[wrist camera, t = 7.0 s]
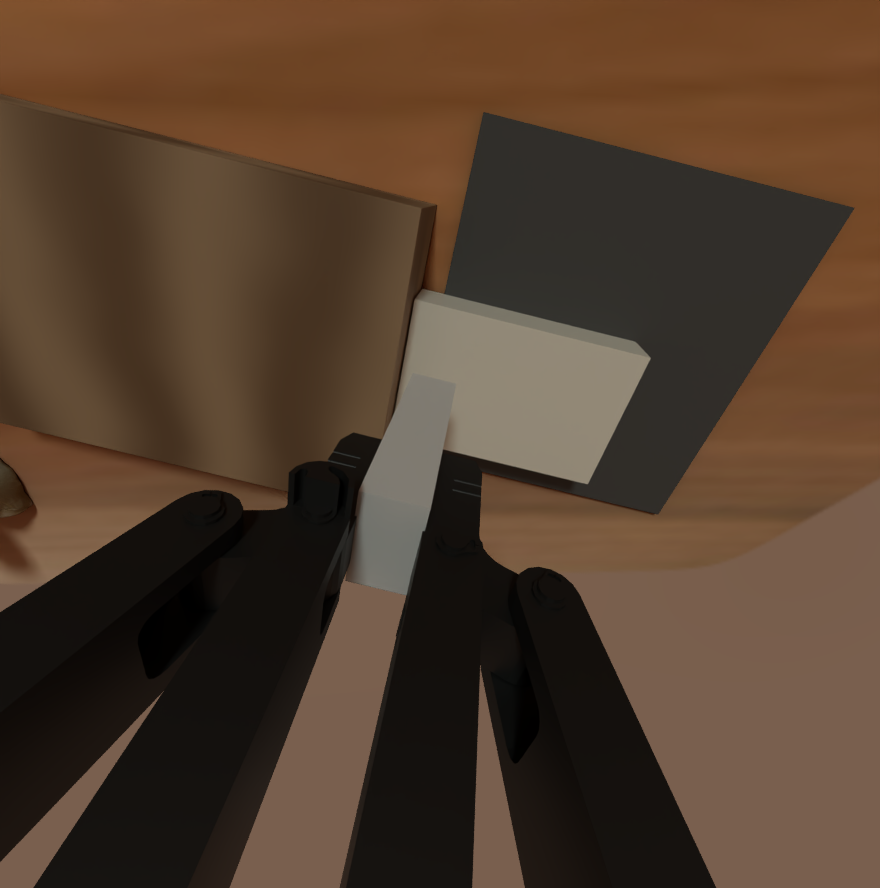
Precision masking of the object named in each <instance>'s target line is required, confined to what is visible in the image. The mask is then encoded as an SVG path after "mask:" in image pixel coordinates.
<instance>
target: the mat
mask: <svg viewBox="0 0 880 888" xmlns="http://www.w3.org/2000/svg"><path fill="white" fill-rule="evenodd" d="M853 210H854V208H853V207H849V206H845V205H841V204H837V203H833V202H829V201H825V200H822V199H818V198H814V197H810V196H806V195H802V194H798V193H795V192H791V191H787V190H783V189H779V188H775V187H771V186H767V185H764V184H760V183H756V182H752V181H748V180H744V179H740V178H737V177H733V176H729V175H725V174H721V173H717V172H713V171H709V170H706V169H702V168H698V167H694V166H690V165H686V164H682V163H678V162H675V161H671V160H667V159H663V158H659V157H655V156H651V155H648V154H644V153H640V152H636V151H632V150H628V149H624V148H620V147H617V146H613V145H609V144H605V143H601V142H597V141H593V140H590V139H586V138H582V137H578V136H574V135H570V134H566V133H562V132H559V131H555V130H551V129H547V128H543V127H539V126H535V125H532V124H528V123H524V122H520V121H516V120H512V119H508V118H504V117H501V116H497V115H493V114H489V113H485V112H484V113H483V117H482V122H481V127H480V131H479V136H478V141H477V145H476V150H475V155H474V159H473V164H472V168H471V173H470V178H469V182H468V187H467V192H466V196H465V201H464V206H463V210H462V215H461V220H460V224H459V229H458V234H457V238H456V243H455V248H454V252H453V257H452V262H451V266H450V271H449V276H448V280H447V285H446V290H445V294H446V295H450V296H454V297H458V298H462V299H466V300H470V301H474V302H478V303H482V304H486V305H490V306H494V307H498V308H502V309H506V310H510V311H514V312H518V313H522V314H526V315H530V316H534V317H538V318H542V319H546V320H550V321H554V322H558V323H562V324H566V325H570V326H574V327H578V328H582V329H586V330H590V331H594V332H598V333H602V334H606V335H610V336H614V337H618V338H622V339H626V340H630V341H634V342H636V343H637V344H638V345H639V346H640V347H641V348H642V349H643V350H644V351H645V352H646V353H647V354H648V355H649V357H650V358H651V359H650V361H649V363H648V365H647V367H646V369H645V371H644V373H643V375H642V377H641V379H640V381H639V383H638V385H637V387H636V389H635V391H634V393H633V395H632V397H631V399H630V401H629V403H628V405H627V407H626V409H625V411H624V413H623V415H622V417H621V419H620V421H619V423H618V425H617V427H616V429H615V431H614V433H613V435H612V437H611V439H610V441H609V443H608V445H607V447H606V449H605V451H604V453H603V455H602V457H601V459H600V461H599V463H598V465H597V467H596V469H595V471H594V473H593V475H592V477H591V479H590V481H589V483H588V484H584V483H580V482H576V481H572V480H568V479H564V478H559V477H555V476H551V475H547V474H543V473H539V472H535V471H531V470H526V469H522V468H518V467H514V466H510V465H506V464H502V463H498V462H493V461H489V460H485V459H481V458H477V457H473V456H469V455H465V454H460V453H456V452H452V451H448V450H444V449H443V451H442V453H444V454H449V455H453V456H457V457H461V458H465V459H469V460H473V461H476V463H477V465H478V467H479V469H480V470H481V472H485V473H490V474H494V475H498V476H502V477H506V478H510V479H514V480H518V481H522V482H527V483H531V484H535V485H539V486H543V487H547V488H551V489H555V490H560V491H564V492H568V493H572V494H576V495H580V496H584V497H588V498H592V499H597V500H601V501H605V502H609V503H613V504H617V505H621V506H625V507H630V508H634V509H638V510H642V511H646V512H650V513H654V514H659V512H660V511H661V509H662V508H663V506H664V504H665V503H666V501H667V500H668V498H669V497H670V495H671V494H672V492H673V490H674V489H675V487H676V486H677V484H678V483H679V481H680V480H681V478H682V476H683V475H684V473H685V472H686V470H687V469H688V467H689V465H690V464H691V462H692V461H693V459H694V458H695V456H696V455H697V453H698V451H699V450H700V448H701V447H702V445H703V444H704V442H705V441H706V439H707V437H708V436H709V434H710V433H711V431H712V430H713V428H714V427H715V425H716V423H717V422H718V420H719V419H720V417H721V416H722V414H723V412H724V411H725V409H726V408H727V406H728V405H729V403H730V402H731V400H732V398H733V397H734V395H735V394H736V392H737V391H738V389H739V388H740V386H741V384H742V383H743V381H744V380H745V378H746V377H747V375H748V374H749V372H750V370H751V369H752V367H753V366H754V364H755V363H756V361H757V359H758V358H759V356H760V355H761V353H762V352H763V350H764V349H765V347H766V345H767V344H768V342H769V341H770V339H771V338H772V336H773V335H774V333H775V331H776V330H777V328H778V327H779V325H780V324H781V322H782V321H783V319H784V317H785V316H786V314H787V313H788V311H789V310H790V308H791V306H792V305H793V303H794V302H795V300H796V299H797V297H798V296H799V294H800V292H801V291H802V289H803V288H804V286H805V285H806V283H807V282H808V280H809V278H810V277H811V275H812V274H813V272H814V271H815V269H816V268H817V266H818V264H819V263H820V261H821V260H822V258H823V257H824V255H825V253H826V252H827V250H828V249H829V247H830V246H831V244H832V243H833V241H834V239H835V238H836V236H837V235H838V233H839V232H840V230H841V229H842V227H843V225H844V224H845V222H846V221H847V219H848V218H849V216H850V214H851V213H852V211H853Z"/></svg>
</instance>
